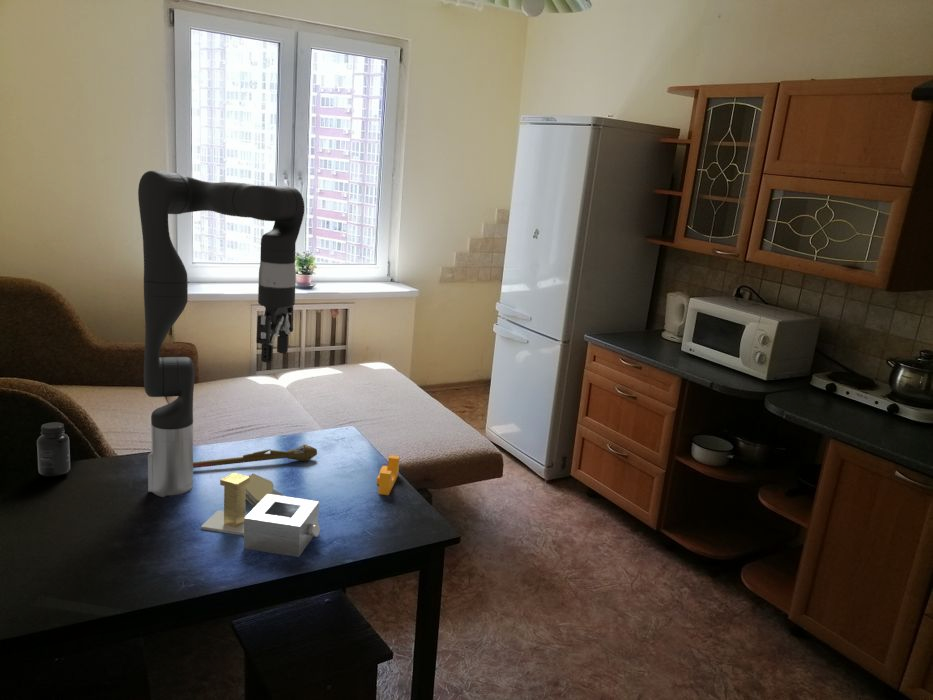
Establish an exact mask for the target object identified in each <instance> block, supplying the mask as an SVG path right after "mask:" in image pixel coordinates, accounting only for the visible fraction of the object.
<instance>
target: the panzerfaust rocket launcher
mask: <svg viewBox="0 0 933 700" xmlns="http://www.w3.org/2000/svg"><path fill="white" fill-rule="evenodd" d="M268 452H269V453H268ZM317 455H318V450H317V448H315V447H313V446H311V445H308V444H303V445H300V446H298V447H294V448H292V449H290V450H287V451H286V450H285V451H284V450H276V449H274V450H273V449H271V448H269V449H265V450H261V451H255V452H252V453H247V454H243V455H242V456H239V457H229V458H220V459H211V460H201V461H193V469H197V468H205V467H208V468H209V467H214V466H216V467H217V466H225V465H233V464H234V465H235V464H241V463H253V462H261V461H262V462H263V461H271V460H278V459H279V460H280V459H288V460H295V461H301V462H305V463H306V462H309V460H311V459H313V458H315V457H316V456H317Z"/></svg>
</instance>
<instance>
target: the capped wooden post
mask: <svg viewBox="0 0 933 700" xmlns="http://www.w3.org/2000/svg"><path fill="white" fill-rule="evenodd" d="M248 476H249V475H248ZM248 476H247V475H244V474H241V473H236V472H232V473H229V474H228V475H226V476H225V477H223V478H221V479H219V485H220V486H223V489H224V491H223V511H224V524H225V525H228V526H232V527H235V528H236V527H238V526H239V525H241V524H242V523H244V518H245V514H246V501H247V500H246V484H247V483H249V482H250V477H248Z"/></svg>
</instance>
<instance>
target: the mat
mask: <svg viewBox="0 0 933 700" xmlns="http://www.w3.org/2000/svg"><path fill="white" fill-rule="evenodd" d="M247 515H248V514H246V513H245V517H246V516H247ZM200 530H206V531H210V532H211V531H213V532H218V533H225V534H232V535H238V536H243V537H244V523H242V524H241V525H239V526H238V527H236V528H235V527H232V526H228V525H225V524H224V510H219V509H218V510H217V511H215V512H214V513H213V514H212V515H211V516H210V517H209V518H208V519H207V520H206V521H205V522H204V523H203V524H202V525H201V526H200Z"/></svg>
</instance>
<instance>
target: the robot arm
mask: <svg viewBox="0 0 933 700" xmlns="http://www.w3.org/2000/svg"><path fill="white" fill-rule="evenodd" d="M137 193H138V194H137V196H138V208H139V215H140V225H141V234H142V246H143V248H142V251H143V252H142V253H143V300H144V301H143V303H144V321H145V324H144V327H145V328H144V329H145V331H144V332H145V334H144V335H145V336H144V337H145V338H144V357H143V358H144V359H143V386H144V387H143V388H144V391H145V393H146V395H147V396H148V397H150V398H165V397H167V398H168V397H169V398H170V397H177V398H176V399H174V400H173V401H172V402H169V403H167V404H164V405H162V406H160V407H157V408H155V409H154V410H153V411H152V412H151V418H150V421H151V424H150V428H151V430H150V436H151V439H150V440H151V452H150V453H149V454H148V455H147V484H148V486H147V488H148V489H147V490H148V492H149V493H153V494H154V495H155V496H158V497H161V498H165V497H166V496H176V495H181V494H184V493H188V492H190V491H191V490H192V489H193V487H194V468H193V462H194V389H195V364H194V361H193V359H191V357H188V356H170V357H169V356H167V357H160V352H161V348H162V346H163V343H164V341H165V339H166V337H167V336H168V333H169V331H170V330H171V328H172V327H174V324H175V323H176V321H177V320H178V319H179V317H180V316H181V314H182V313H183V312H184V310H185V308H186V306H187V303H188V293H189V292H188V291H189V290H188V284H189V282H188V273H187V270H186V267H185V264H184V262H183V261H182V259H181V257H180V255H179V253H178V251H177V250H176V247H174V244H173V242H172V239H171V236H170V229H169V227H170V226H169V215H181V214H185V213H186V214H187V213H188V214H189V213H193V212H202V211H203V212H204V211H205V212H214V213H217V214H221V215H225V216H229V217H240V218H251V219H255V220H259V221H265V222H274V225H273V227H272V229H271V230H270V231H267V232H266V233H264V234H263V235H262V236H261V239H260V263H259V269H258V289H257V293H258V294H257V303H258V305H260V306H261V307H264V308H265V309H264V314H258V315H257V325H256V339H255V342H256V344H260V345H261V355H260V356H261V362H262V363H266V364H267V363H268V364H270V363H272V362H273V359H274V358H273V357H274V343H275V339H276V337H277V341H276V343H277V344H276V345H277V346H276V352H277V353H278V354H287V353H288V352H289V337H290V335H291V333H293V331H294V306H295V304H296V279H297V278H296V277H297V274H296V272H297V271H296V270H297V269H296V245H297V244H296V243H297V240H298V236H299V234H300V230H301V227H302V223H303V220H304V216H305V201H304V198H303V195H302V193H301V191H299V190H298V189H297V188H295V187H293V186H284V185H262V184H261V185H260V184H258V185H255V184H253V183H246V182H231V181H225V182H224V181H223V182H222V181H221V182H220V181H219V182H209V181H203V180H200V179H197V178H194V177H192V176H191V177H190V176H187V175H184V174H182V173H178V172H175V171H174V172H172V171H162V170H161V171H160V170H147V171H146V172H144V173H143V174H142V176H141V177H140V180H139V183H138V190H137Z"/></svg>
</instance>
